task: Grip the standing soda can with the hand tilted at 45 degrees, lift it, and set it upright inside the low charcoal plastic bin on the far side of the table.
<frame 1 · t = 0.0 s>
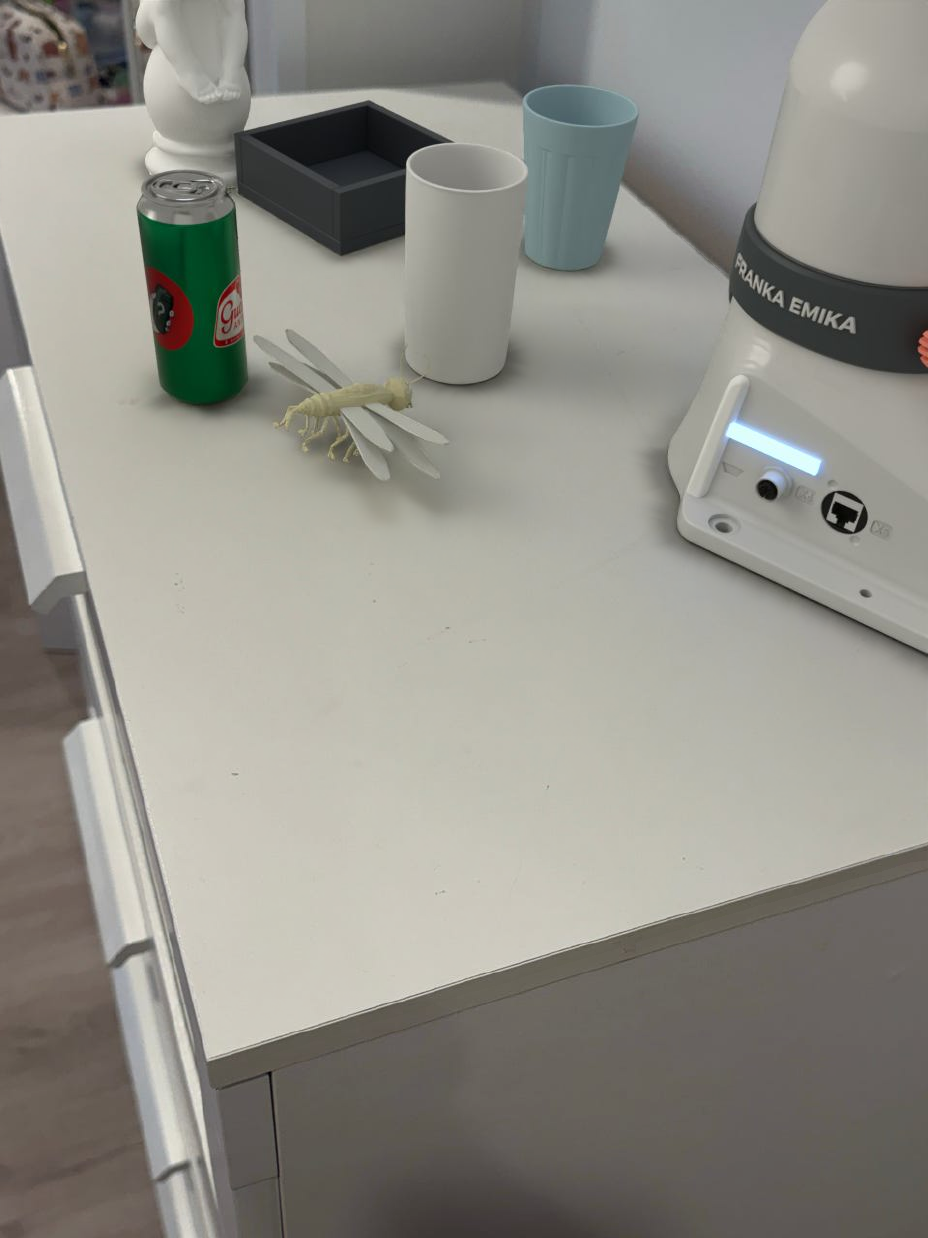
toy: (351, 451, 65), on the dresser
soda can: (205, 390, 69), on the dresser
mug: (452, 348, 74), on the dresser
cherub figurine: (181, 168, 92), on the dresser
bin: (355, 202, 88), on the dresser
cup: (562, 255, 84), on the dresser
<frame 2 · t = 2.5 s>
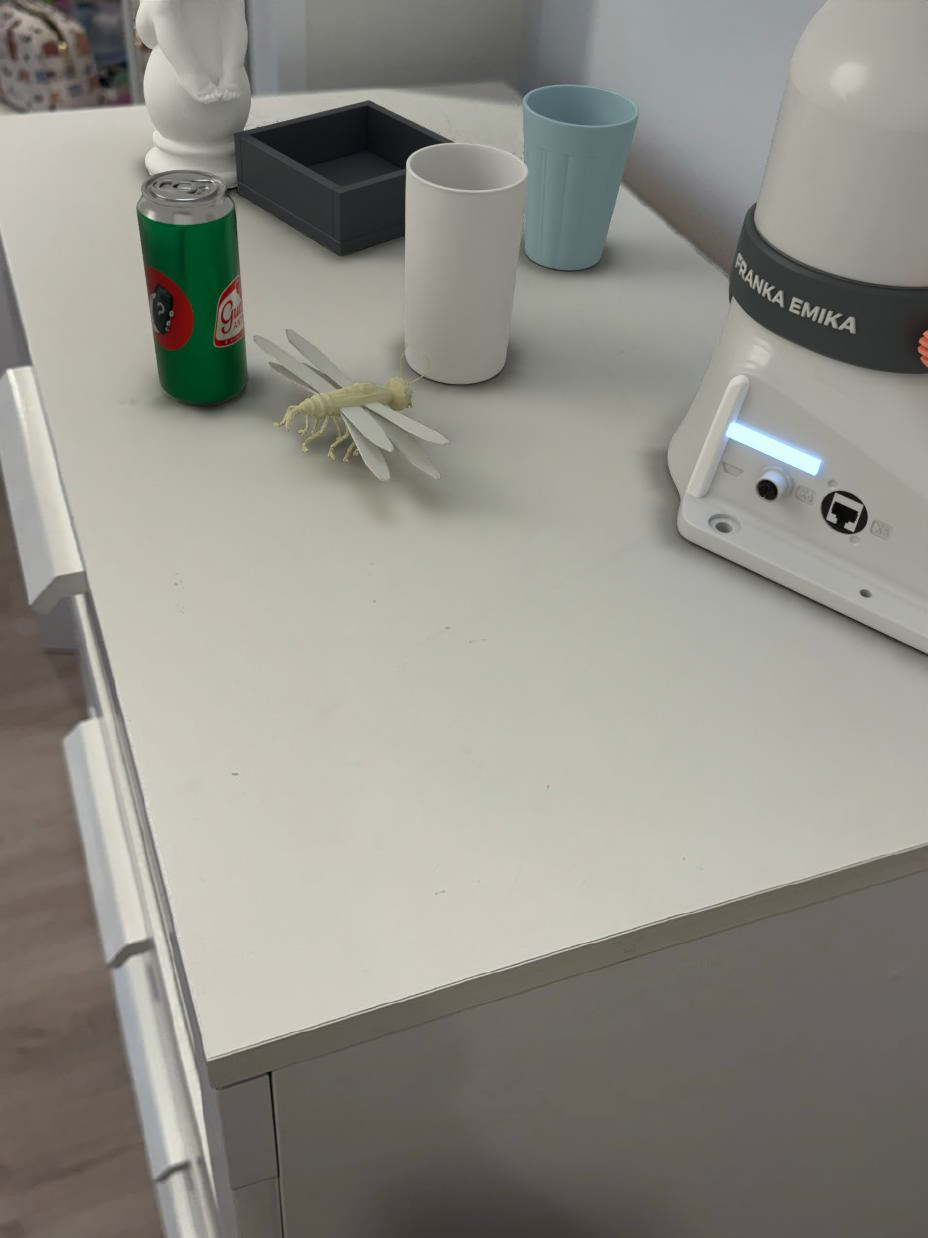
nothing on the dresser moved.
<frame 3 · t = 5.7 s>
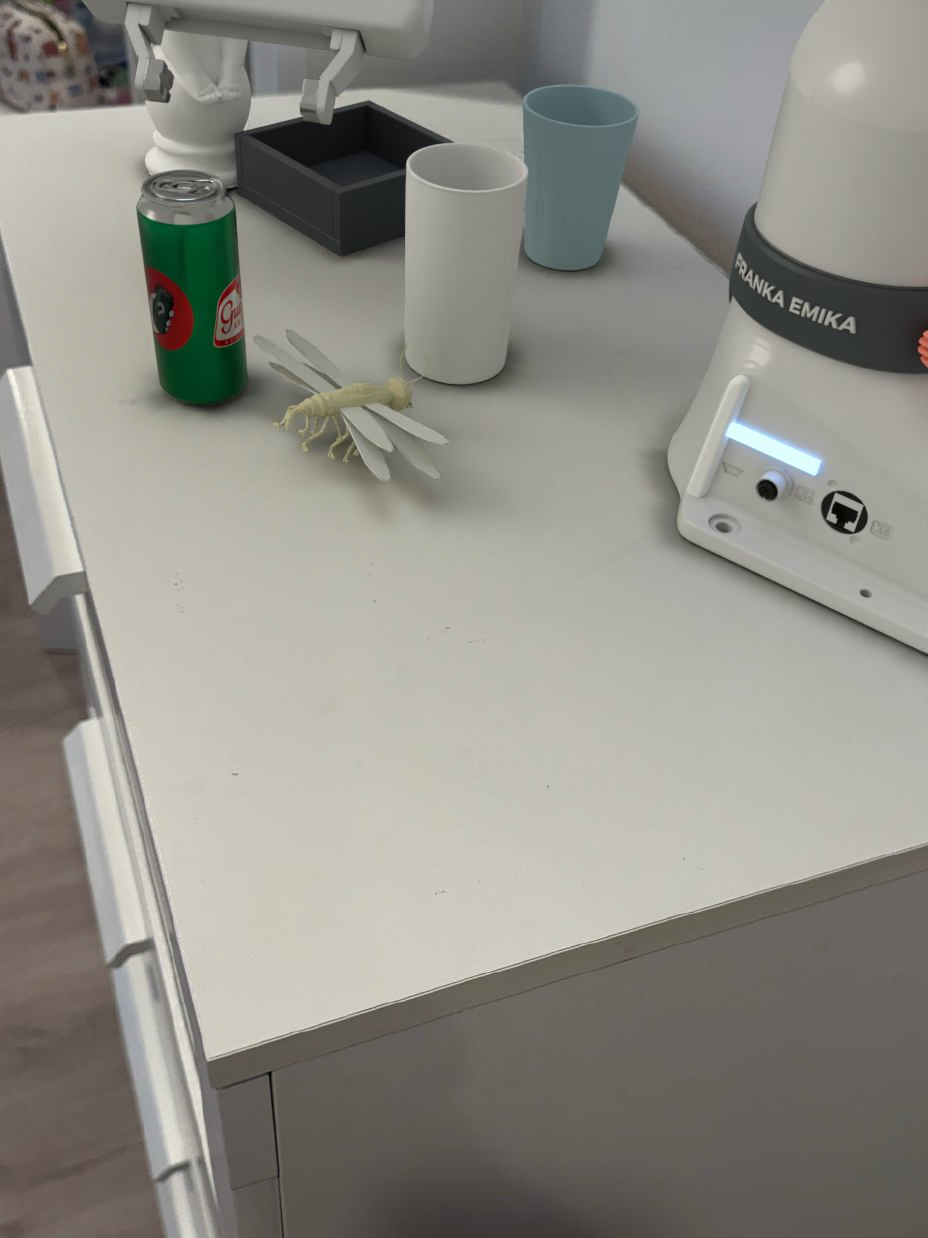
hand: (232, 107, 66), 13 cm above the dresser, tool tilted 45°, fingers open, 8 cm apart
nothing on the dresser moved.
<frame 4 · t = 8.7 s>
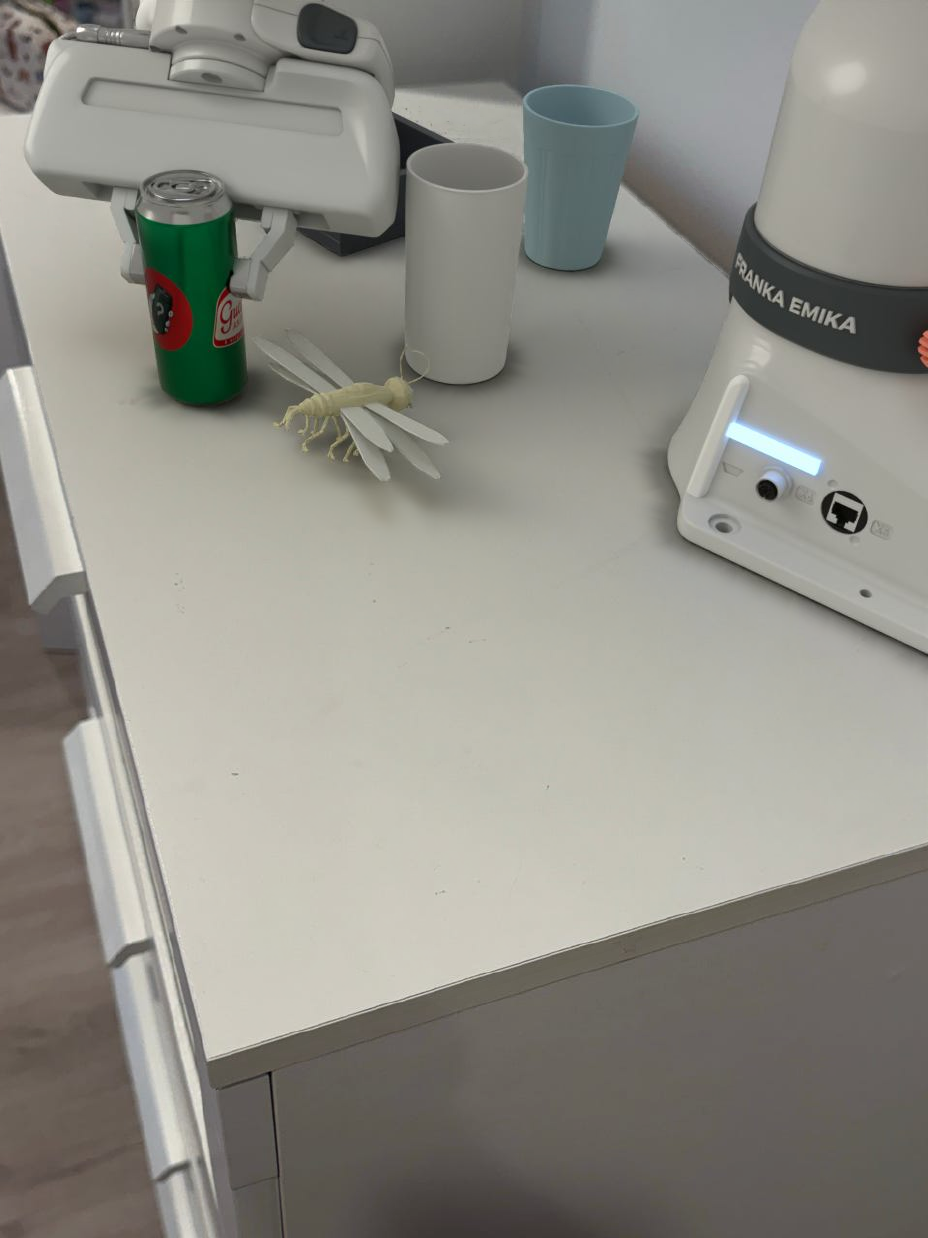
hand: (192, 289, 64), 7 cm above the dresser, tool tilted 45°, fingers closed on soda can, 5 cm apart
soda can: (205, 390, 69), on the dresser, touching gripper
everything else where it was.
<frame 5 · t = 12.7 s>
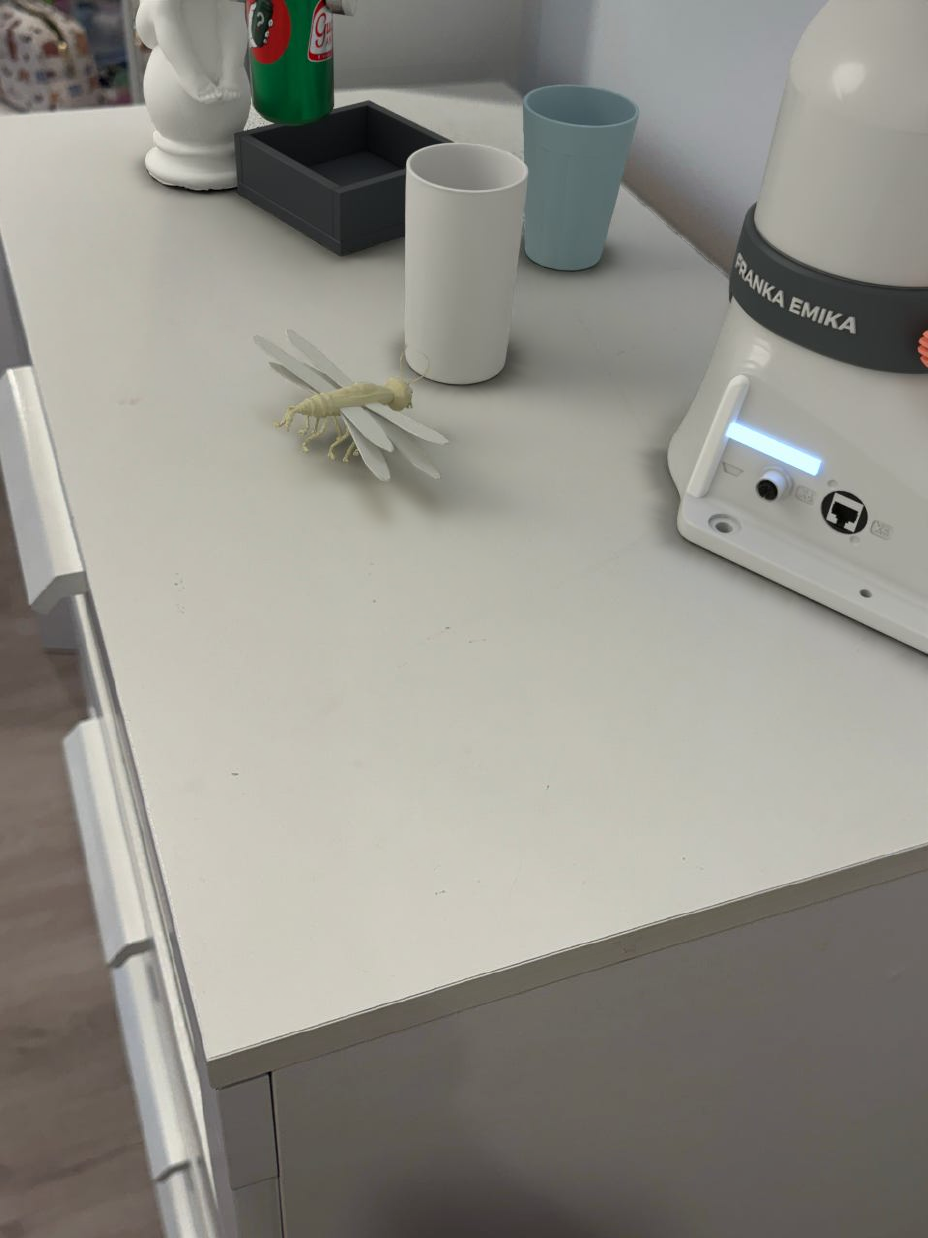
hand: (289, 3, 69), 17 cm above the dresser, tool tilted 45°, fingers closed on soda can, 5 cm apart
soda can: (294, 116, 74), point 10 cm above the dresser, touching gripper
everything else where it was.
when the fingers open (8 cm above the dresser, at t = 17.0 s): soda can stays where it is, resting on bin.
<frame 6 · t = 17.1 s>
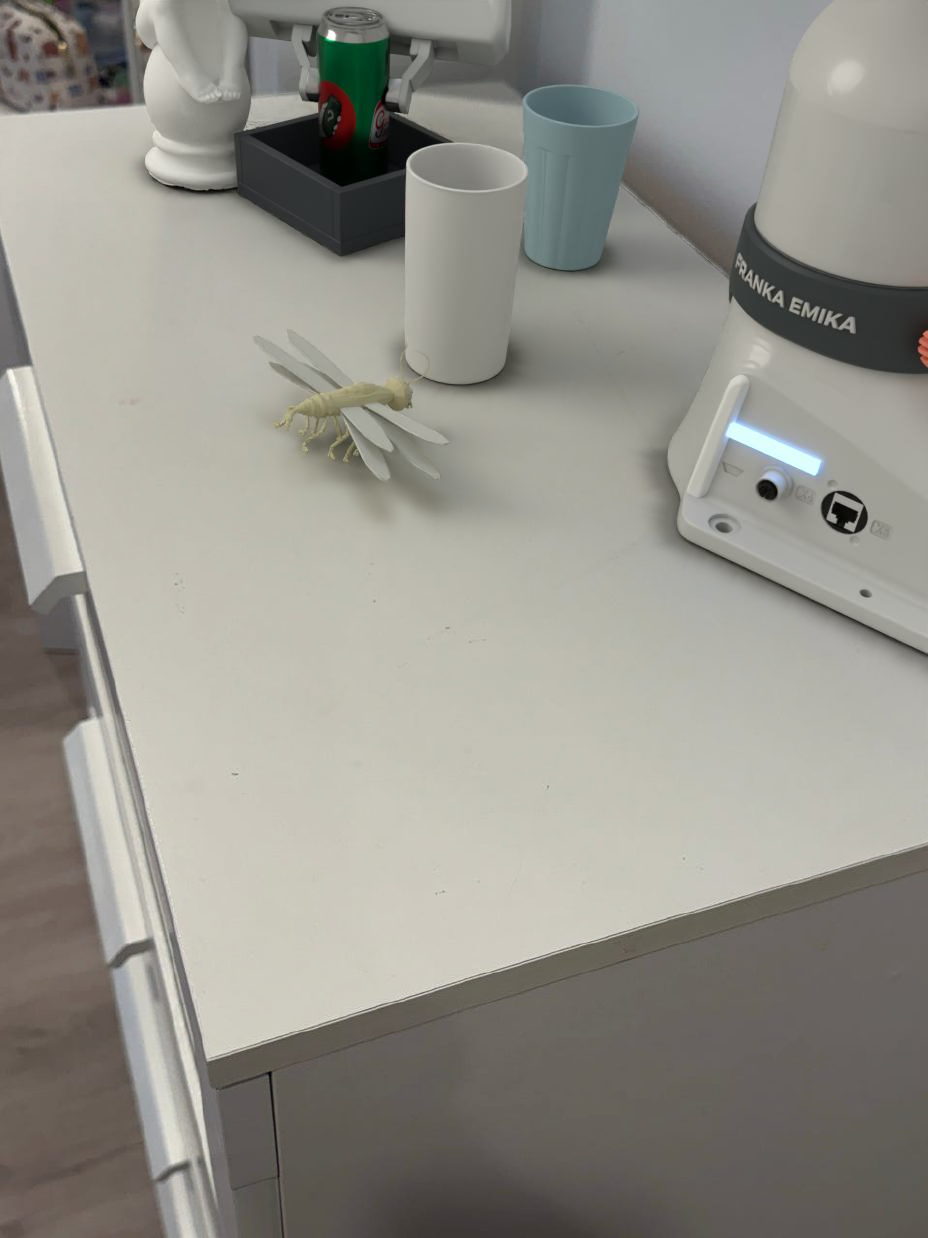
hand: (353, 103, 83), 7 cm above the dresser, tool tilted 45°, fingers open, 5 cm apart
soda can: (354, 191, 88), point 1 cm above the dresser, touching bin
everything else where it was.
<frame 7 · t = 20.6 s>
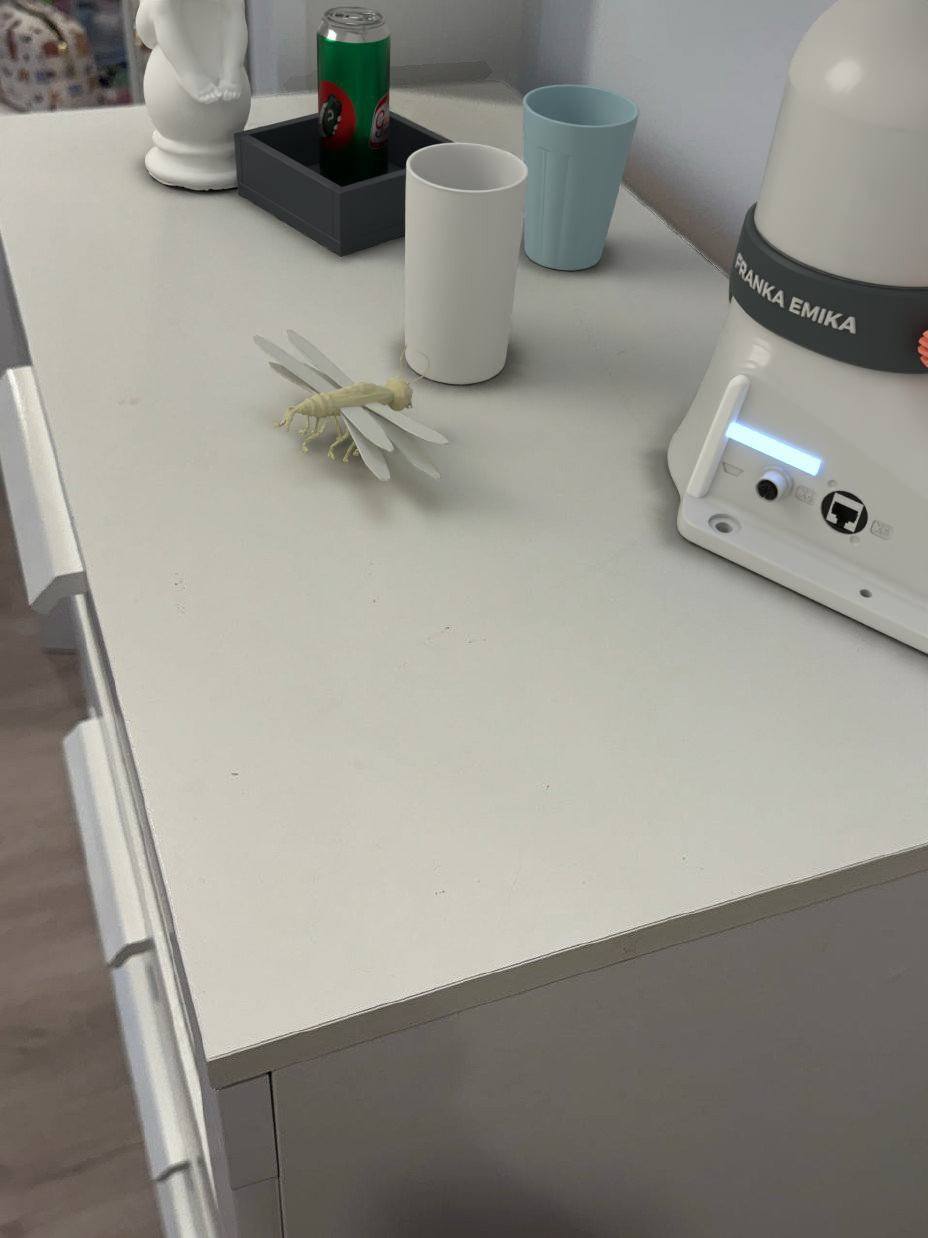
nothing on the dresser moved.
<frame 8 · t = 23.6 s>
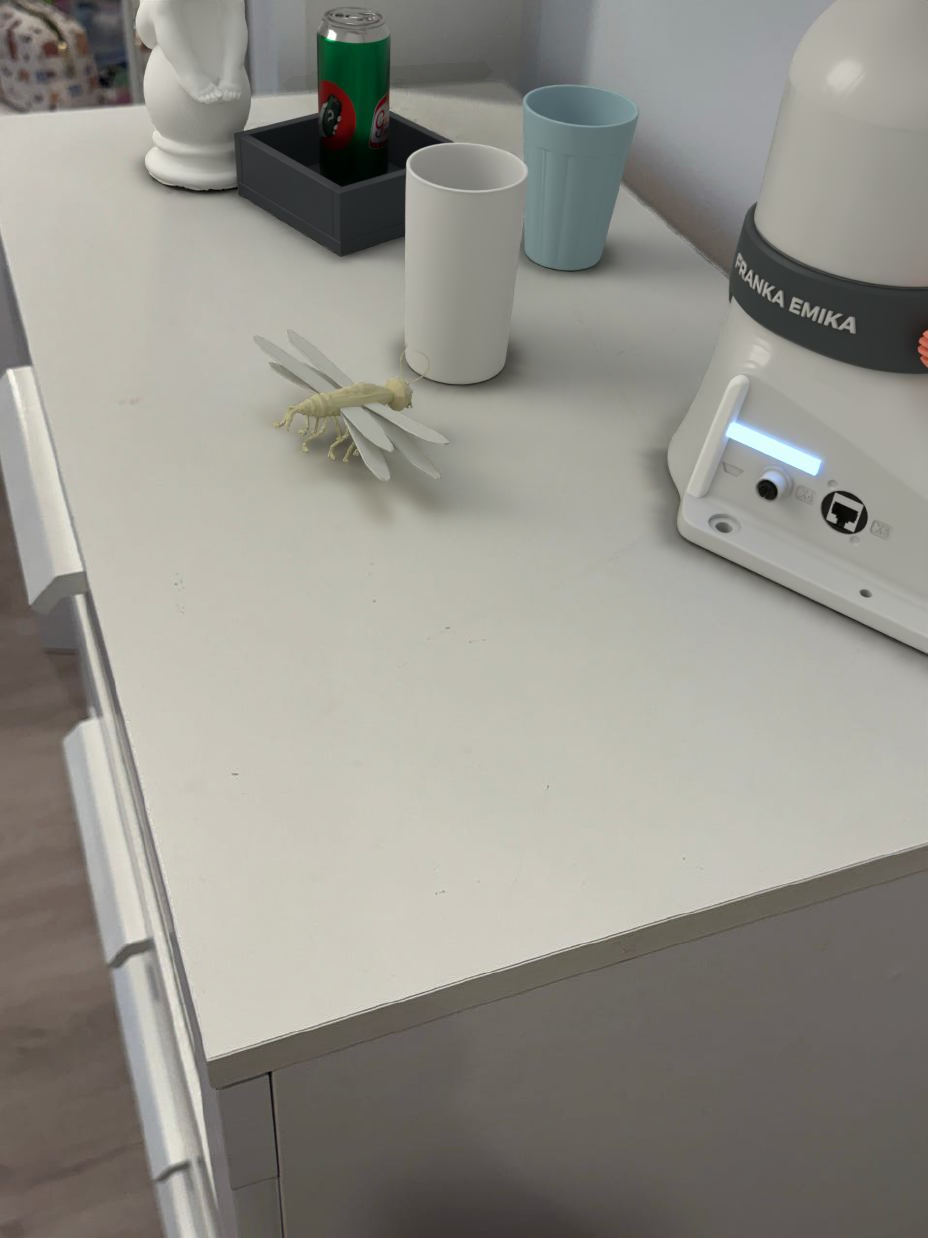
nothing on the dresser moved.
at the end: soda can inside the target area in the bin (0.2 cm from its centre), point 0.8 cm above the bin's base; soda can tilted 0°; the gripper is holding nothing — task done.
